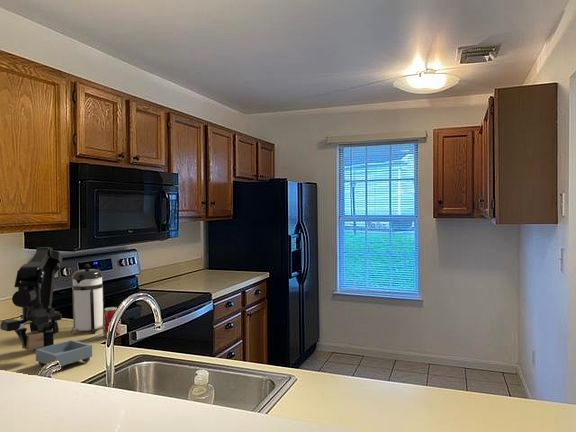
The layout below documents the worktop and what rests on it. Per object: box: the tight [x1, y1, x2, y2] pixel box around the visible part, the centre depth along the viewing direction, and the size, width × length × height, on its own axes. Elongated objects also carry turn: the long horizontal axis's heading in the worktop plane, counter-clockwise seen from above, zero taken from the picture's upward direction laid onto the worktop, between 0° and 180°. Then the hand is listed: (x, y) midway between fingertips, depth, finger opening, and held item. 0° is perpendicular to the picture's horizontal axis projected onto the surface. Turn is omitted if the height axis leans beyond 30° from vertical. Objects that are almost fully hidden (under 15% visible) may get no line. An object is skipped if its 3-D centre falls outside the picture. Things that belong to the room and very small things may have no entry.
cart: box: [35, 339, 93, 372], centre depth 156 cm, size 13×13×6 cm
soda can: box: [102, 306, 122, 339], centre depth 190 cm, size 7×7×12 cm
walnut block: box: [21, 331, 44, 351], centre depth 160 cm, size 5×5×5 cm
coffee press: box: [70, 263, 105, 335], centre depth 200 cm, size 17×16×30 cm
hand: (32, 344), depth 160 cm, fingers closed on walnut block, 5 cm apart
